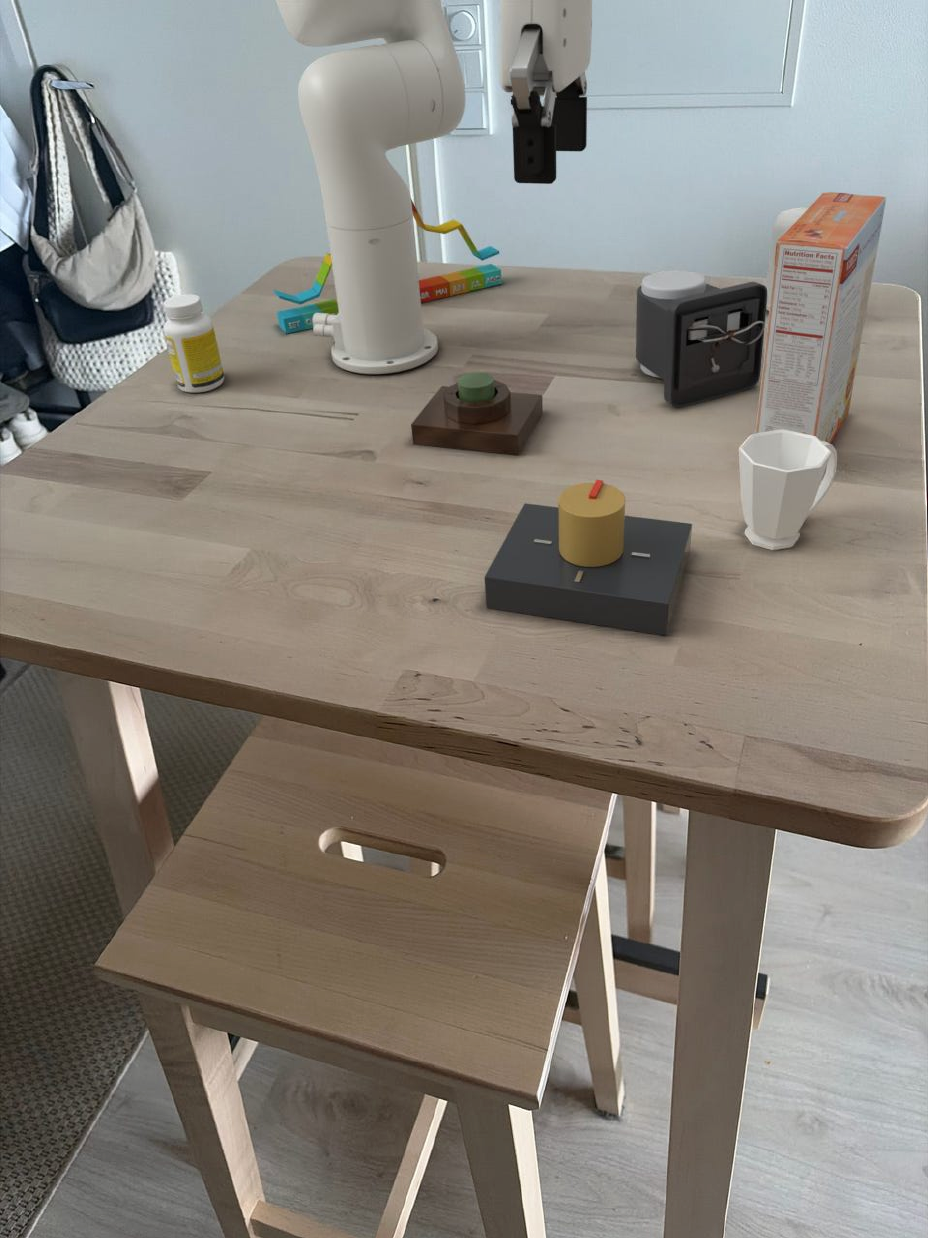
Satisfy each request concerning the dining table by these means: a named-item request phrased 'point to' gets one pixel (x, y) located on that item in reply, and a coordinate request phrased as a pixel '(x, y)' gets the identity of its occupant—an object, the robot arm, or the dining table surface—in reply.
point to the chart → (428, 287)
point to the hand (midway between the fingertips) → (551, 165)
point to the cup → (782, 484)
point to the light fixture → (699, 335)
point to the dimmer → (591, 524)
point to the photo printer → (779, 230)
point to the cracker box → (818, 314)
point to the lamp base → (478, 421)
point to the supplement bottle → (192, 345)
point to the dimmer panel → (590, 574)
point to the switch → (476, 387)
